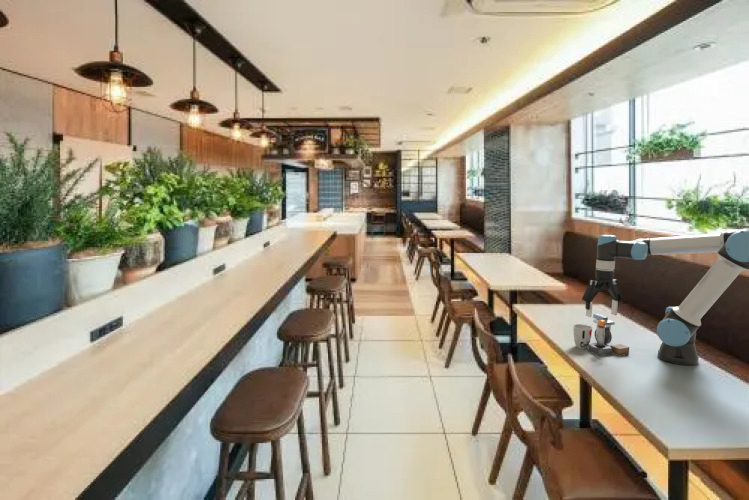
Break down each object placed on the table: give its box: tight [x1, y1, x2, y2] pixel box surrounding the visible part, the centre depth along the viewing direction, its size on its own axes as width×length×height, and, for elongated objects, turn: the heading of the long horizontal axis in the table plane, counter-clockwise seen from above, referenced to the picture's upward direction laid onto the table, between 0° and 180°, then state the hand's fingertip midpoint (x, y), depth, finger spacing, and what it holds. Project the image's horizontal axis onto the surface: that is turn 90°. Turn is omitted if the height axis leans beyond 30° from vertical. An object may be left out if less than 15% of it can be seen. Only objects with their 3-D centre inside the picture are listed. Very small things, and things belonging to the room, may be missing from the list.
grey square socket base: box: [587, 343, 613, 357], centre depth 216 cm, size 7×7×3 cm
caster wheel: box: [592, 313, 616, 345], centre depth 228 cm, size 10×7×13 cm
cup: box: [573, 323, 593, 350], centre depth 223 cm, size 8×8×10 cm
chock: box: [609, 343, 630, 357], centre depth 215 cm, size 5×6×4 cm
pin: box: [596, 320, 606, 348], centre depth 215 cm, size 3×3×15 cm
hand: (601, 315), depth 214 cm, fingers open, 13 cm apart
